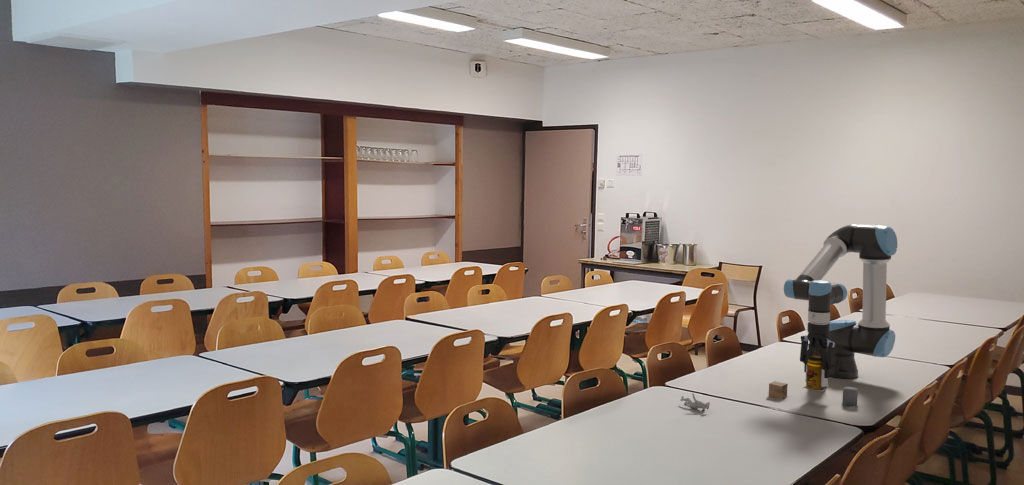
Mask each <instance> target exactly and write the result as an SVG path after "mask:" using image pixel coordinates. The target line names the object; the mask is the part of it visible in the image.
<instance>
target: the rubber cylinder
mask: <svg viewBox="0 0 1024 485" xmlns="http://www.w3.org/2000/svg"><path fill="white" fill-rule="evenodd" d="M858 393H859V389H858V388H857V387H853V386H844V387H842V402H841V403H842V404H841V405H843V406H845V405H846V407H850V406H852V407H853V406H855V407H858V397H859V396H858ZM853 408H854V407H853Z"/></svg>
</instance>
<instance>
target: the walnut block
mask: <svg viewBox="0 0 1024 485" xmlns="http://www.w3.org/2000/svg"><path fill="white" fill-rule="evenodd" d="M768 397H771V398H776V399H780V400H782V399H784V398H786V397H788V383H787V382H786V383H785V382H781V381H777V380H774V381H772V382H769V384H768Z"/></svg>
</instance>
